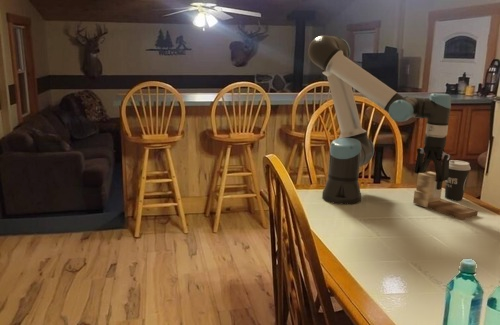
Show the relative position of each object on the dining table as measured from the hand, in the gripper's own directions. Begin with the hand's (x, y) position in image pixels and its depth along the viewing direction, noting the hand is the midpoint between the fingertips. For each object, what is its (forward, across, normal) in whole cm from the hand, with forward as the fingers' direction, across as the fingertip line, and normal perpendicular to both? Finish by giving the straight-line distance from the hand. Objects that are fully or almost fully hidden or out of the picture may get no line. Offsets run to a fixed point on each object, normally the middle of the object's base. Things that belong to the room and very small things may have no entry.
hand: (428, 194), depth 181 cm
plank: (+4, +7, +2) cm, 8 cm away
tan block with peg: (+4, 0, +1) cm, 4 cm away
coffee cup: (+4, -1, +17) cm, 17 cm away
